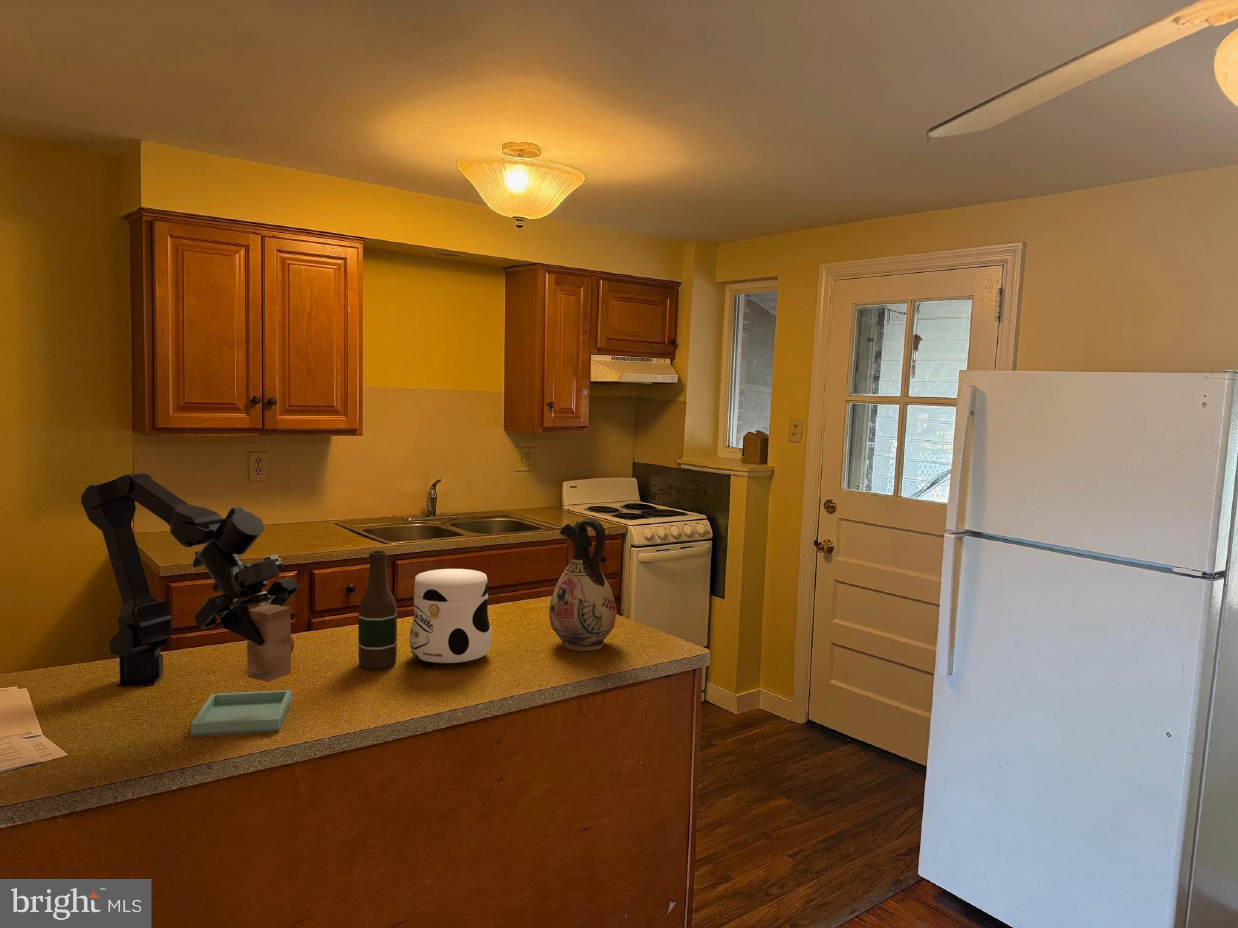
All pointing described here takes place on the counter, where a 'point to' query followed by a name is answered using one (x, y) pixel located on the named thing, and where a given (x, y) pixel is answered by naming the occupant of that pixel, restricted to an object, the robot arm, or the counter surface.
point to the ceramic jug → (583, 593)
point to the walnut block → (270, 643)
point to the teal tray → (242, 713)
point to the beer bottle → (377, 619)
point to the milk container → (450, 617)
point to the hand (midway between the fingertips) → (274, 639)
